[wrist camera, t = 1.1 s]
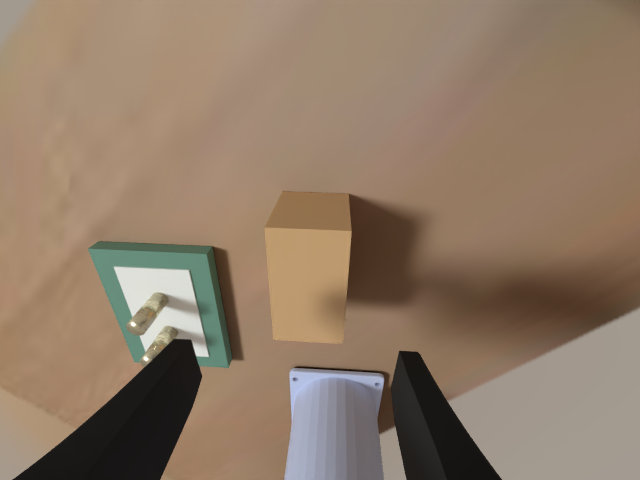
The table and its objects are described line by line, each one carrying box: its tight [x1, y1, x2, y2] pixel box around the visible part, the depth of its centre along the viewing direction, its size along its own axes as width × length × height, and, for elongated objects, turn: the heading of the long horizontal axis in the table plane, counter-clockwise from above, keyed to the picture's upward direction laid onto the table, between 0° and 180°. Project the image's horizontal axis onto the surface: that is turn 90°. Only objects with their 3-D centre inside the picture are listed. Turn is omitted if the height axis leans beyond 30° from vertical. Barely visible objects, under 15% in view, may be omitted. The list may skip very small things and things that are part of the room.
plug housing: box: [264, 191, 352, 344], centre depth 17 cm, size 7×4×5 cm, turn 179°
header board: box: [88, 242, 232, 368], centre depth 21 cm, size 11×8×4 cm
